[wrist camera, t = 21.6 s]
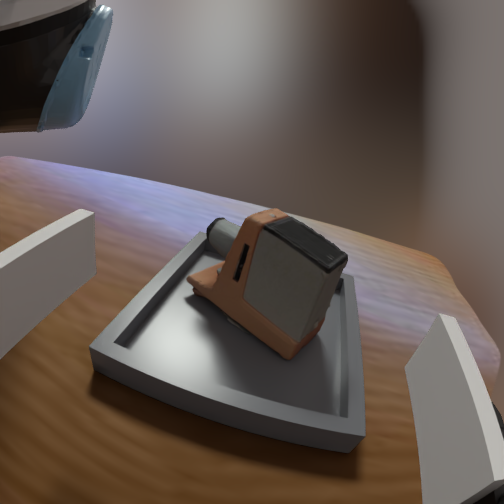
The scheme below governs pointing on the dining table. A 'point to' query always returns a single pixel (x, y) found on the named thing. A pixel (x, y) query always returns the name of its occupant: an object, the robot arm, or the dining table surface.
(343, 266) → the electronic device
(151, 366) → the dock tray
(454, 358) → the robot arm
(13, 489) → the dining table surface
